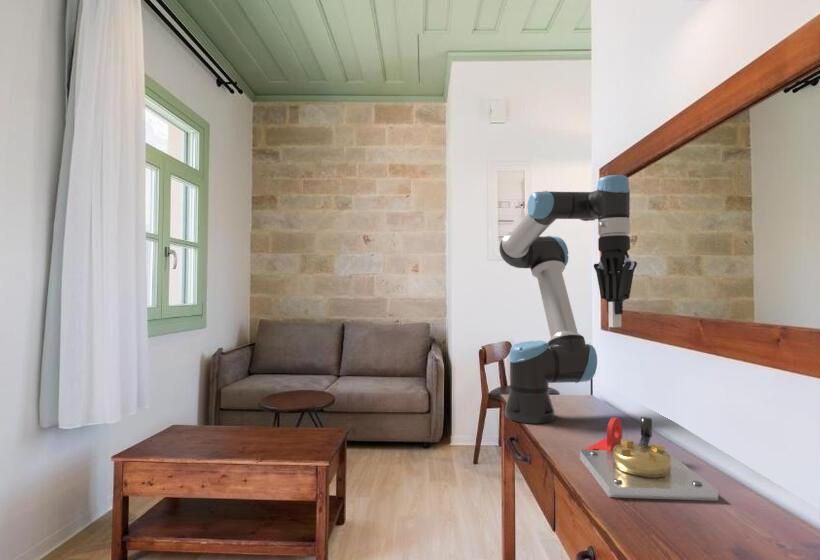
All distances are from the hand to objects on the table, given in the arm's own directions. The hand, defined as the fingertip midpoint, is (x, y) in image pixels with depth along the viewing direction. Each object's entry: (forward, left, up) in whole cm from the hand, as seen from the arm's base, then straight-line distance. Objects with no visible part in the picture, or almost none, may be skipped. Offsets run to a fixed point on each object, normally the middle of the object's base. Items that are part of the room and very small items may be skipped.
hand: (615, 326), depth 117 cm
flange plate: (+20, -2, -30) cm, 36 cm away
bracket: (+4, -4, -31) cm, 31 cm away
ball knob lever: (+16, 0, -28) cm, 32 cm away
